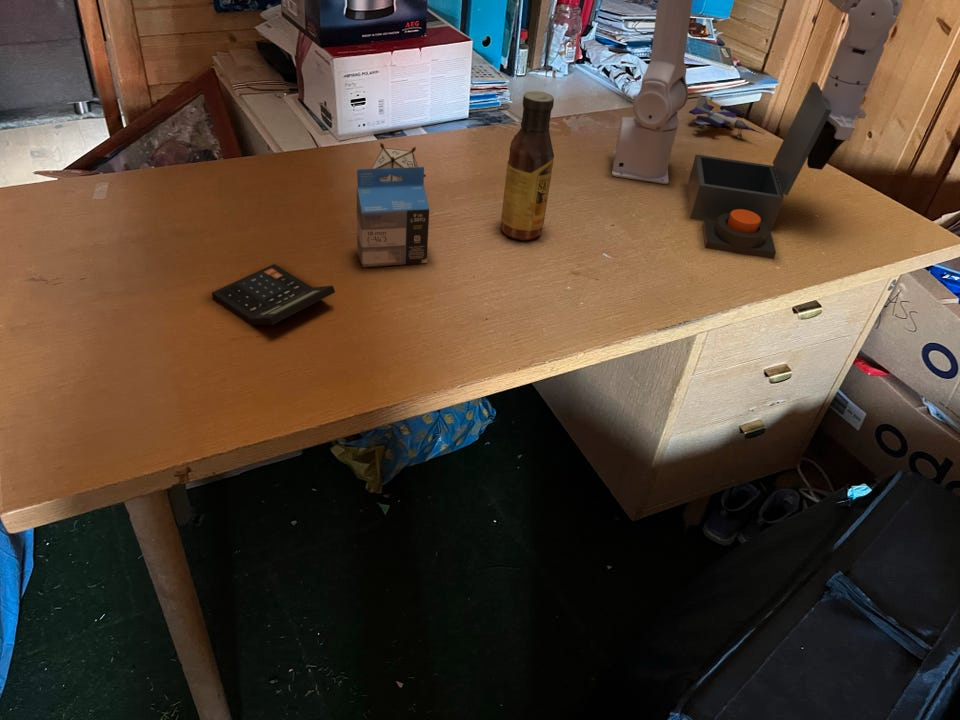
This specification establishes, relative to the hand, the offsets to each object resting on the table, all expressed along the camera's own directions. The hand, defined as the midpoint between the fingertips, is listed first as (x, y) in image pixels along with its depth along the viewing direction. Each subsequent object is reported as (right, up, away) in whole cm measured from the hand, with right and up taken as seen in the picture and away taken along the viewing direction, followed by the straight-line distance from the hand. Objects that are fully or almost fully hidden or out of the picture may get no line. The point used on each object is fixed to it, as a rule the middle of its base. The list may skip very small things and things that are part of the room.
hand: (814, 167), depth 115 cm
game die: (-64, -5, 0) cm, 64 cm away
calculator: (-76, -23, -23) cm, 83 cm away
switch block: (-13, -12, -2) cm, 17 cm away
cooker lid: (-4, +4, -2) cm, 6 cm away
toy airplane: (-4, +15, +32) cm, 35 cm away
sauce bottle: (-45, -11, -5) cm, 47 cm away
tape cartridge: (-63, -16, -14) cm, 67 cm away
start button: (-12, -10, -4) cm, 16 cm away
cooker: (-11, -5, +6) cm, 14 cm away
